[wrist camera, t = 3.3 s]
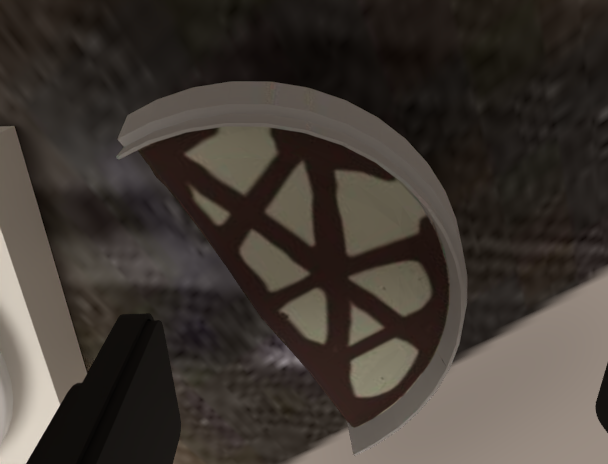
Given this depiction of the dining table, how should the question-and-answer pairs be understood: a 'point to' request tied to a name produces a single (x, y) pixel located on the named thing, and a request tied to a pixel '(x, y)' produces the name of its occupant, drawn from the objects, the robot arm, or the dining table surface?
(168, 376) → the robot arm
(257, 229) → the food container
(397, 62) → the dining table surface
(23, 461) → the dial scale
